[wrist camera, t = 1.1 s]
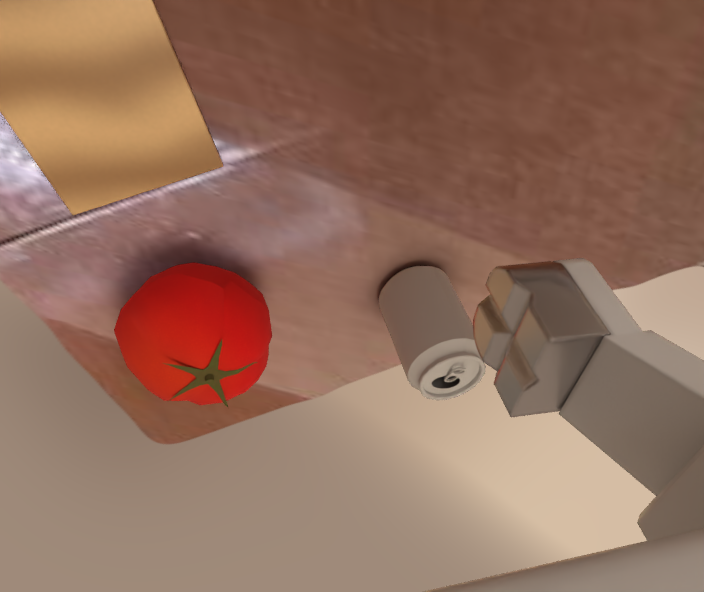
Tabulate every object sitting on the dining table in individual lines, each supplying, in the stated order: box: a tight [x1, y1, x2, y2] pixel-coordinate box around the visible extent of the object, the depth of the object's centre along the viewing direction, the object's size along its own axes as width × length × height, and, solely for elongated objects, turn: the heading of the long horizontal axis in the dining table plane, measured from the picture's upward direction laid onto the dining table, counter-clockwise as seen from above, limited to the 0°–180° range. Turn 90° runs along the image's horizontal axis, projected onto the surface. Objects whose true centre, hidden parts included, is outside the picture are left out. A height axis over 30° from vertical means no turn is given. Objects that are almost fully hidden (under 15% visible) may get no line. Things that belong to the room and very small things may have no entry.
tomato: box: [114, 262, 272, 407], centre depth 55 cm, size 13×12×11 cm
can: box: [379, 266, 486, 400], centre depth 62 cm, size 8×8×12 cm
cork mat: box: [0, 0, 223, 215], centre depth 42 cm, size 20×12×1 cm, turn 11°
